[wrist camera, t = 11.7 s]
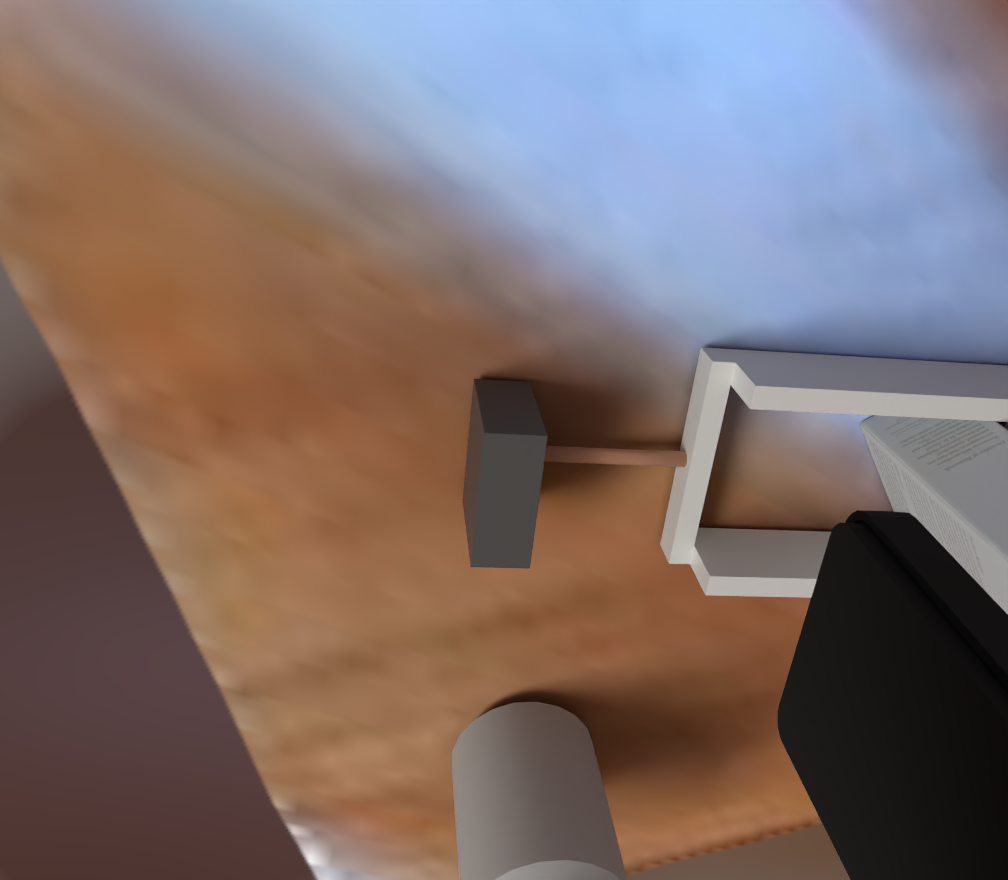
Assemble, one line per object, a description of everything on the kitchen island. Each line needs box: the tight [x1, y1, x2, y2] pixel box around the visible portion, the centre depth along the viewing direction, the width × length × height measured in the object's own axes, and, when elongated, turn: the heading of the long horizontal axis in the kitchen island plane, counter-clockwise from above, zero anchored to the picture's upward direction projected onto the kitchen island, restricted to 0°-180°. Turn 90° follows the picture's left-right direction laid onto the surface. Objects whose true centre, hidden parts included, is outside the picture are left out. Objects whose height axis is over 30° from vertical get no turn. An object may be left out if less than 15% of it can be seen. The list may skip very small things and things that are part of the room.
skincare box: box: [860, 415, 1008, 614], centre depth 38 cm, size 6×4×12 cm
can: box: [452, 702, 627, 880], centre depth 44 cm, size 8×8×12 cm
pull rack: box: [463, 347, 1008, 597], centre depth 39 cm, size 10×26×6 cm, turn 84°
